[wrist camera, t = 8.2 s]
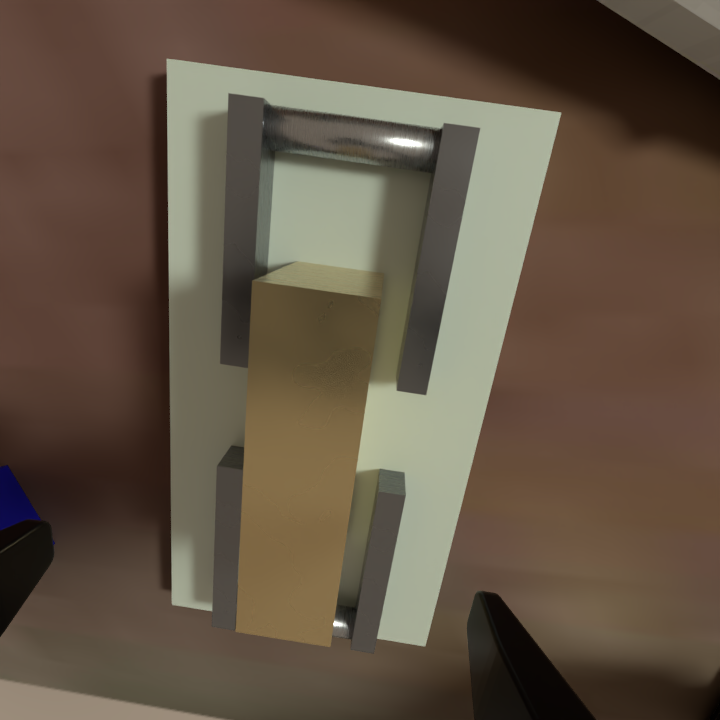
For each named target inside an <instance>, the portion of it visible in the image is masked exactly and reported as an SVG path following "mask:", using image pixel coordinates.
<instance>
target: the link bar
mask: <svg viewBox="0 0 720 720" xmlns="http://www.w3.org/2000/svg"><path fill="white" fill-rule="evenodd" d="M383 280H384V273H378V272H371V271H364V270H357V269H350V268H343V267H335V266H328V265H321V264H314V263H307V262H300V261H297V262H294V263H292V264H290V265H287V266H285V267H283V268H280V269H278V270H276V271H273V272H271V273H269V274H266V275H264V276H262V277H259V278H257V279H255V280H252V294H251V315H250V337H249V358H248V380H247V401H246V422H245V444H244V465H243V486H242V508H241V529H240V550H239V572H238V593H237V614H236V632H240V633H246V634H252V635H259V636H265V637H271V638H277V639H283V640H290V641H296V642H302V643H308V644H314V645H321V646H327V647H330V646H331V639H332V632H333V626H334V619H335V612H336V605H337V598H338V591H339V585H340V578H341V571H342V564H343V557H344V550H345V544H346V537H347V530H348V523H349V516H350V509H351V503H352V496H353V489H354V482H355V475H356V468H357V462H358V455H359V448H360V441H361V434H362V428H363V421H364V414H365V407H366V400H367V393H368V387H369V380H370V373H371V366H372V359H373V352H374V346H375V339H376V332H377V325H378V318H379V311H380V305H381V297H382V289H383Z"/></svg>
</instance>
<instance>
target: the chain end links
mask: <svg viewBox="0 0 720 720" xmlns="http://www.w3.org/2000/svg"><path fill="white" fill-rule="evenodd" d="M479 132H480V128H478V127H470V126H463V125H456V124H449V123H444V124H443V126H442V127H441V128H436V127H429V126H421V125H414V124H407V123H400V122H393V121H385V120H378V119H371V118H364V117H356V116H349V115H342V114H335V113H328V112H320V111H313V110H306V109H299V108H291V107H284V106H277V105H271V104H270V103H269V102H268V101H267V100H266V99H265V98H260V97H253V96H246V95H239V94H231V93H228V122H227V154H226V186H225V218H224V250H223V282H222V315H221V347H220V364H224V365H230V366H237V367H243V368H248V358H249V337H250V315H251V294H252V280H255V279H257V278H259V277H262V276H264V275H266V274H267V270H268V255H269V239H270V224H271V208H272V193H273V177H274V162H275V151H278V152H285V153H292V154H299V155H306V156H313V157H320V158H327V159H334V160H342V161H349V162H356V163H363V164H370V165H377V166H384V167H391V168H398V169H405V170H413V171H420V172H427V173H431V177H430V183H429V189H428V194H427V200H426V206H425V211H424V217H423V223H422V229H421V234H420V240H419V246H418V252H417V257H416V263H415V269H414V274H413V280H412V286H411V292H410V297H409V303H408V309H407V315H406V320H405V326H404V332H403V337H402V343H401V349H400V355H399V360H398V366H397V372H396V391H401V392H407V393H414V394H421V395H426V394H427V389H428V384H429V379H430V374H431V369H432V364H433V359H434V354H435V349H436V345H437V340H438V335H439V330H440V325H441V320H442V315H443V310H444V305H445V300H446V295H447V290H448V285H449V280H450V275H451V271H452V266H453V261H454V256H455V251H456V246H457V241H458V236H459V231H460V226H461V221H462V216H463V211H464V206H465V201H466V197H467V192H468V187H469V182H470V177H471V172H472V167H473V162H474V157H475V152H476V147H477V142H478V137H479ZM243 465H244V447H239V446H232V445H231V447H230V448H229V449H228V451H227V452H226V454H225V455H224V456H223V458H222V459H221V461H220V462H219V464H218V465H217V475H216V507H215V540H214V572H213V604H212V627H217V628H223V629H229V630H235V629H236V614H237V593H238V572H239V550H240V529H241V508H242V486H243ZM405 497H406V490H405V472H398V471H392V470H386V469H379V475H378V481H377V486H376V492H375V498H374V503H373V509H372V515H371V521H370V526H369V532H368V538H367V544H366V549H365V555H364V561H363V566H362V572H361V578H360V584H359V589H358V595H357V601H356V606H355V607H350V606H343V605H336V612H335V619H334V626H333V632H332V636H333V637H339V638H345V639H351V650H355V651H361V652H367V653H373V654H374V650H375V646H376V641H377V636H378V631H379V626H380V621H381V616H382V611H383V606H384V601H385V596H386V591H387V586H388V581H389V576H390V572H391V567H392V562H393V557H394V552H395V547H396V542H397V537H398V532H399V527H400V522H401V517H402V512H403V507H404V502H405Z"/></svg>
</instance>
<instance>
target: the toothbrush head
mask: <svg viewBox="0 0 720 720" xmlns="http://www.w3.org/2000/svg"><path fill="white" fill-rule="evenodd" d="M597 1H599V2H600V3H602V4H603V5H605V6H606V7H608V8H610V9H611V10H613V11H614V12H616V13H617V14H619V15H620V16H622V17H624V18H625V19H627V20H628V21H630V22H631V23H633V24H634V25H636V26H637V27H639V28H641V29H642V30H644V31H645V32H647V33H648V34H650V35H651V36H653V37H655V38H656V39H658V40H659V41H661V42H662V43H664V44H665V45H667V46H669V47H670V48H672V49H673V50H675V51H676V52H678V53H679V54H681V55H682V56H684V57H686V58H687V59H689V60H690V61H692V62H693V63H695V64H696V65H698V66H700V67H701V68H703V69H704V70H706V71H707V72H709V73H710V74H712V75H714V76H715V77H717V78H718V79H720V0H597Z"/></svg>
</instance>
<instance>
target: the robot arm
mask: <svg viewBox="0 0 720 720" xmlns="http://www.w3.org/2000/svg"><path fill="white" fill-rule="evenodd" d="M53 557H54V545H53V537H52V529H51V525H50V524H49V523H48V522H46V521H41V520H35V519H27V520H24V521H21V522H19V523H16V524H14V525H12V526H9V527H7V528H5V529H2V530H0V637H1V635H2V634H3V632H4V631H5V630H6V628H7V627H8V625H9V624H10V623H11V621H12V620H13V618H14V617H15V615H16V614H17V612H18V611H19V609H20V608H21V607H22V605H23V604H24V602H25V601H26V599H27V598H28V596H29V595H30V593H31V592H32V590H33V589H34V588H35V586H36V585H37V583H38V582H39V580H40V579H41V577H42V576H43V574H44V573H45V572H46V570H47V569H48V567H49V566H50V564H51V562H52V560H53ZM467 637H468V649H469V661H470V673H471V685H472V698H473V709H474V719H475V720H596V719H595V717H594V716H593V715H592V714H591V712H590V711H589V710H588V709H587V707H586V706H585V705H584V703H583V702H582V701H581V700H580V698H579V697H578V696H577V694H576V693H575V692H574V691H573V689H572V688H571V687H570V686H569V684H568V683H567V682H566V680H565V679H564V678H563V677H562V675H561V674H560V673H559V671H558V670H557V669H556V668H555V666H554V665H553V664H552V663H551V661H550V660H549V659H548V657H547V656H546V655H545V654H544V652H543V651H542V650H541V648H540V647H539V646H538V645H537V643H536V642H535V641H534V639H533V638H532V637H531V636H530V634H529V633H528V632H527V631H526V629H525V628H524V627H523V625H522V624H521V623H520V622H519V620H518V619H517V618H516V616H515V615H514V614H513V613H512V611H511V610H510V609H509V608H508V606H507V605H506V604H505V602H504V601H503V600H502V599H501V597H500V596H499V595H497V594H496V593H491V592H485V591H478V592H477V593H476V594H475V597H474V600H473V604H472V607H471V611H470V614H469V618H468V622H467ZM710 720H720V703H719V705H718V707H717V708H716V710H715V712H714V713H713V715H712V717H711V718H710Z"/></svg>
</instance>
